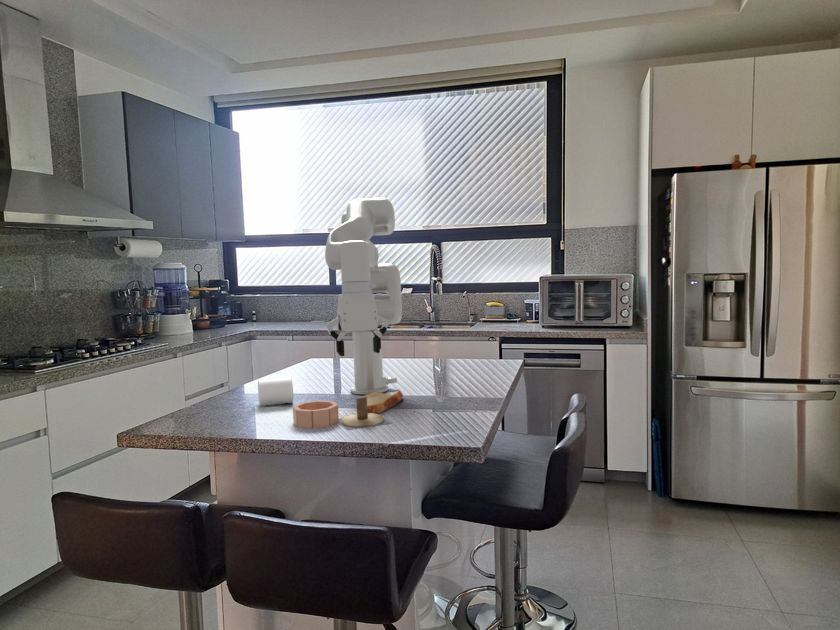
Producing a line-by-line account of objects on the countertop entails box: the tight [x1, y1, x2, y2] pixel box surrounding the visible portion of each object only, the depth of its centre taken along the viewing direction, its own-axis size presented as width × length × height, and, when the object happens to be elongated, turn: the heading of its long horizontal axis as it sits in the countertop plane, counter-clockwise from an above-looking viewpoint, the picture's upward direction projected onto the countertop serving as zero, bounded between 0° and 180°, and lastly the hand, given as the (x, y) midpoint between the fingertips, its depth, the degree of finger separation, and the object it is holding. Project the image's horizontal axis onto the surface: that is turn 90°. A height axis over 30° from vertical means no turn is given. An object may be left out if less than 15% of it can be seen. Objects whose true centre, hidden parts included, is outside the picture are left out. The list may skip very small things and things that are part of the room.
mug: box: [257, 376, 294, 407], centre depth 181 cm, size 12×10×8 cm
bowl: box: [292, 400, 340, 429], centre depth 154 cm, size 11×11×5 cm
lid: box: [342, 395, 384, 428], centre depth 153 cm, size 11×11×6 cm
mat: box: [337, 417, 393, 431], centre depth 154 cm, size 12×12×1 cm
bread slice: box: [364, 389, 404, 414], centre depth 172 cm, size 18×18×4 cm
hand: (359, 353), depth 152 cm, fingers open, 9 cm apart
